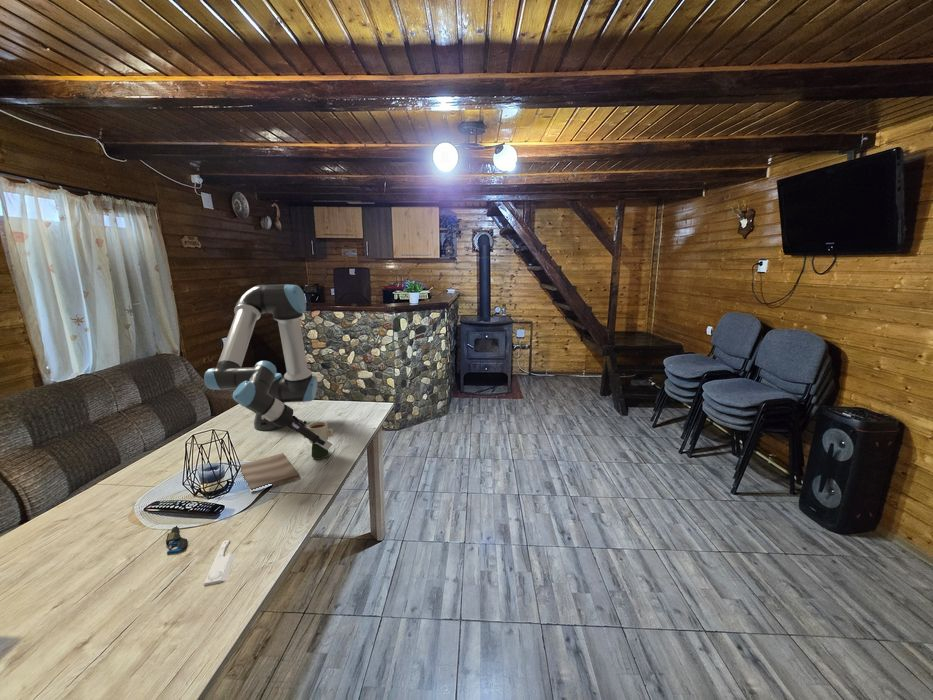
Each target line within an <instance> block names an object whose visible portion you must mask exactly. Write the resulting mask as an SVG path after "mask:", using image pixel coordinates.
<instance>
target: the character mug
mask: <svg viewBox="0 0 933 700" xmlns="http://www.w3.org/2000/svg"><path fill="white" fill-rule="evenodd" d="M307 425H308V429H309V430H311V431H312V432H313V433H315V434H316V435H319V436H320V437H322V438H324V439H325V440H327V441H329V440H328V439H329V438H330V437H334V429H333V428H329V427H328V423H327V422H326V421H324V420H323V421H314V422H311V423H309V424H307ZM329 432H330V434H329ZM302 436H303V435H302ZM303 439H307V438H306V437H305V436H303ZM308 441H309V442H308V443H310V444H311V458H313V459H315V460H320V459H324V458H326V457H327V456H328V455H330V454H329V453H330V452H329V450H326V449H325V448H323V447H321V446H320V445H318V444H316V443H314V444H312V441H311V440H309V439H308Z"/></svg>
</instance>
